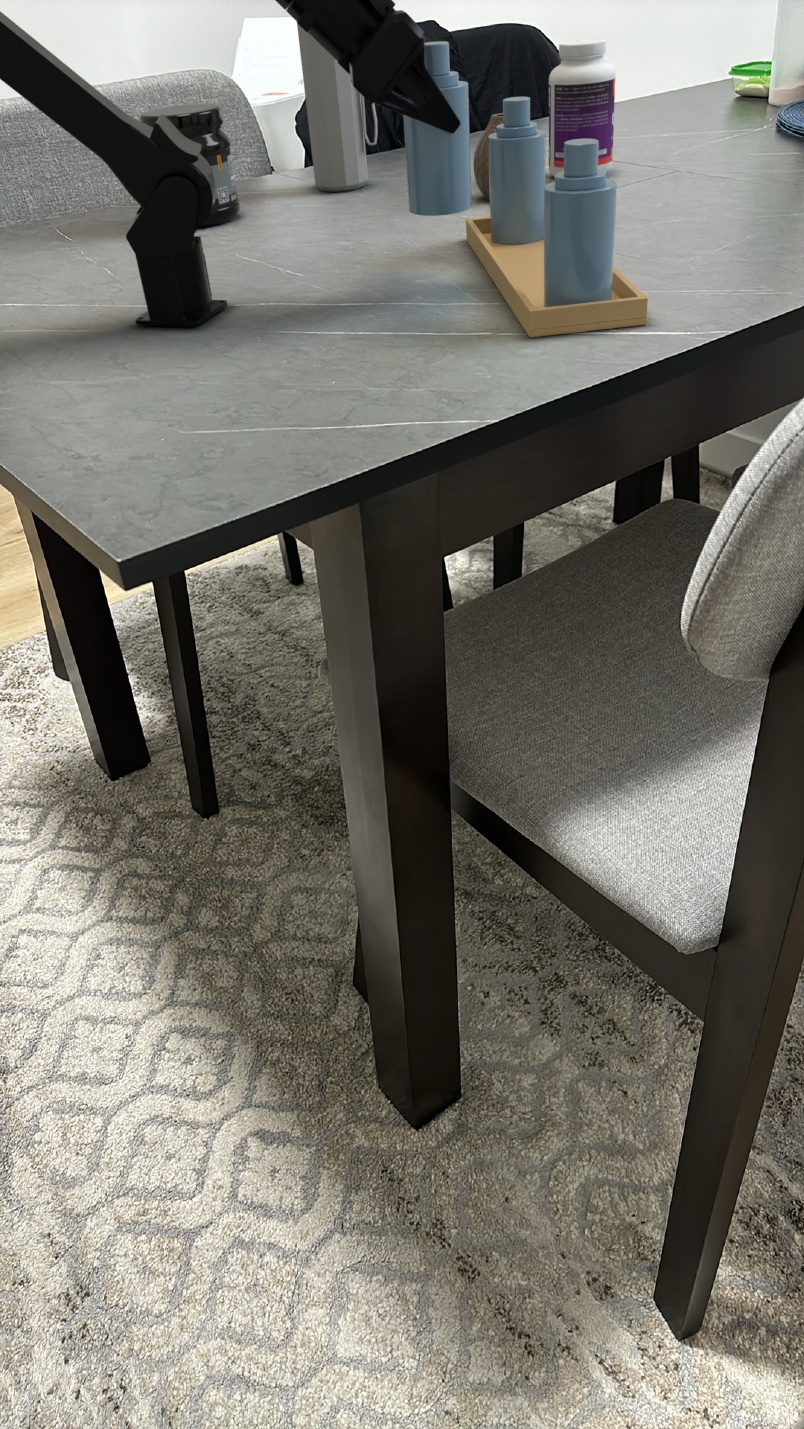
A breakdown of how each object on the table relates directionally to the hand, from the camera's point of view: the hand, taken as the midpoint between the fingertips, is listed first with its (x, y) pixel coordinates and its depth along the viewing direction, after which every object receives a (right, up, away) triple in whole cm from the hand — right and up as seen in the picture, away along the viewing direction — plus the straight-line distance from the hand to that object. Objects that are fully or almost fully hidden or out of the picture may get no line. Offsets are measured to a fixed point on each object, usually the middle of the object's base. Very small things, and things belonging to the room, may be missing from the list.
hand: (452, 123), depth 89 cm
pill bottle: (+18, +18, +44) cm, 51 cm away
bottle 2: (+10, -17, -2) cm, 20 cm away
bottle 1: (+8, -1, +18) cm, 20 cm away
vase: (+8, +12, +37) cm, 40 cm away
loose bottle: (-1, -5, +4) cm, 7 cm away
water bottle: (-11, +19, +49) cm, 54 cm away
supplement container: (-30, +11, +40) cm, 51 cm away
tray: (+9, -10, +8) cm, 16 cm away
